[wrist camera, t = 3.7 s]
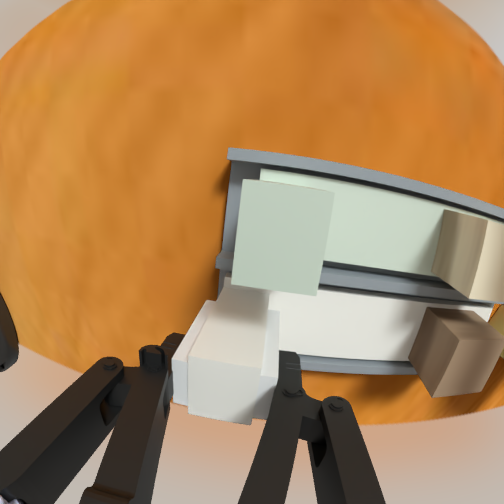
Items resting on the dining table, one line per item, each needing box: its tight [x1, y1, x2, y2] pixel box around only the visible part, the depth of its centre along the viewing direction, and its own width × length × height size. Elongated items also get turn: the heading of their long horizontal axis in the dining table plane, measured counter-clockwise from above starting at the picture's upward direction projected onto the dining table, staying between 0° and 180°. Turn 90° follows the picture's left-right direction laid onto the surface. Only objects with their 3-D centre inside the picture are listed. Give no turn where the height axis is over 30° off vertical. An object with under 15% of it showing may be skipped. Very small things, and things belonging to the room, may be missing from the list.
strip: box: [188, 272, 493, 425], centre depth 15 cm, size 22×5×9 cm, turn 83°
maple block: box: [431, 209, 504, 302], centre depth 14 cm, size 5×4×5 cm
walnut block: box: [408, 307, 504, 398], centre depth 16 cm, size 5×4×5 cm
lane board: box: [215, 148, 504, 375], centre depth 18 cm, size 24×14×3 cm, turn 83°
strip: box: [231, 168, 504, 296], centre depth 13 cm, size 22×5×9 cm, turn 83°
